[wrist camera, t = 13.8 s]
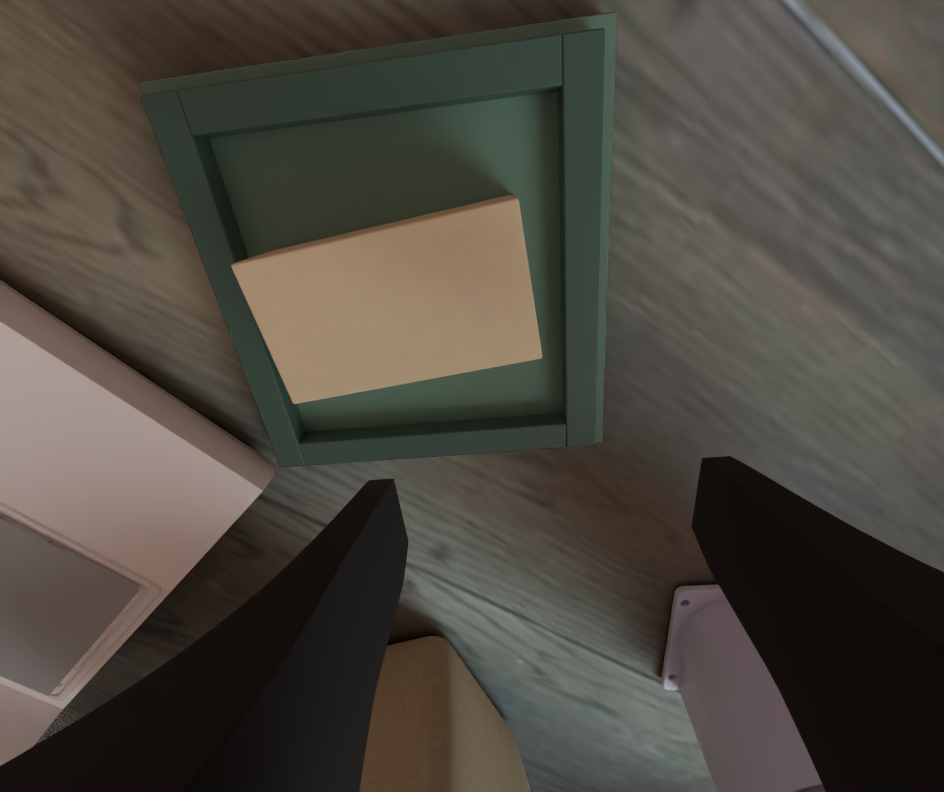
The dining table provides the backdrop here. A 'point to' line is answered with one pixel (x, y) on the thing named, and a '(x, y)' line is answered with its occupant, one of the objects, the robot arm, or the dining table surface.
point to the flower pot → (436, 727)
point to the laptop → (94, 508)
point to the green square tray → (412, 214)
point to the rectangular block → (397, 301)
